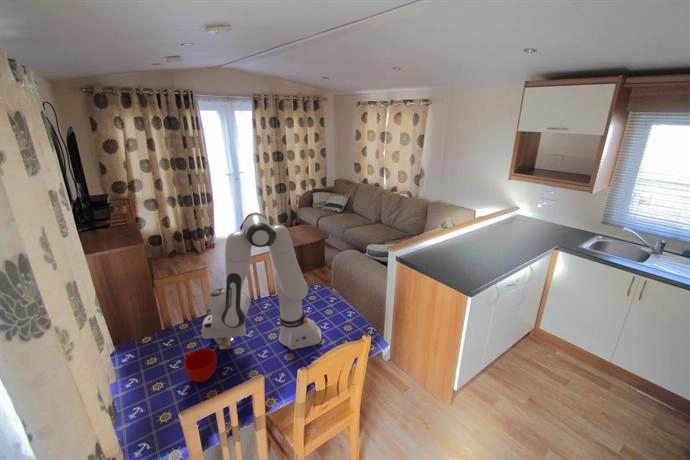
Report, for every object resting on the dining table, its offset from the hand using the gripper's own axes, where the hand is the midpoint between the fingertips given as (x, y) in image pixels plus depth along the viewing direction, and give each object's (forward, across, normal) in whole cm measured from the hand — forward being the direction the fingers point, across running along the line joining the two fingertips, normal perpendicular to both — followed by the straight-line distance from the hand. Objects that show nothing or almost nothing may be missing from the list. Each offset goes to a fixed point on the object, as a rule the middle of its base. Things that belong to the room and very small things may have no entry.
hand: (225, 342), depth 159 cm
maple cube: (+2, 0, 0) cm, 2 cm away
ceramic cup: (+4, +8, +16) cm, 18 cm away
